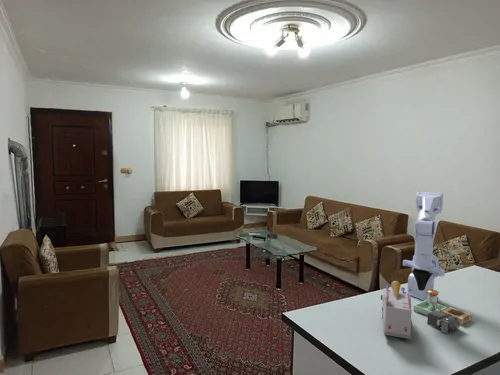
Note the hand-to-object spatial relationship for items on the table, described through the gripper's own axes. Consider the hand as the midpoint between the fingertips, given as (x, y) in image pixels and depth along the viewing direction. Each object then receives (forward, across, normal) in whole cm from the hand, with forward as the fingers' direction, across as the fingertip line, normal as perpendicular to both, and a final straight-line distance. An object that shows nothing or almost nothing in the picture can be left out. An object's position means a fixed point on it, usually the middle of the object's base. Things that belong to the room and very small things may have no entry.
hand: (421, 289), depth 124 cm
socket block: (+10, +8, +10) cm, 16 cm away
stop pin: (+10, 0, +7) cm, 12 cm away
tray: (+10, 0, +7) cm, 12 cm away
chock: (+10, +6, -1) cm, 12 cm away
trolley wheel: (+10, +11, -1) cm, 15 cm away
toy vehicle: (+10, 0, -15) cm, 19 cm away
